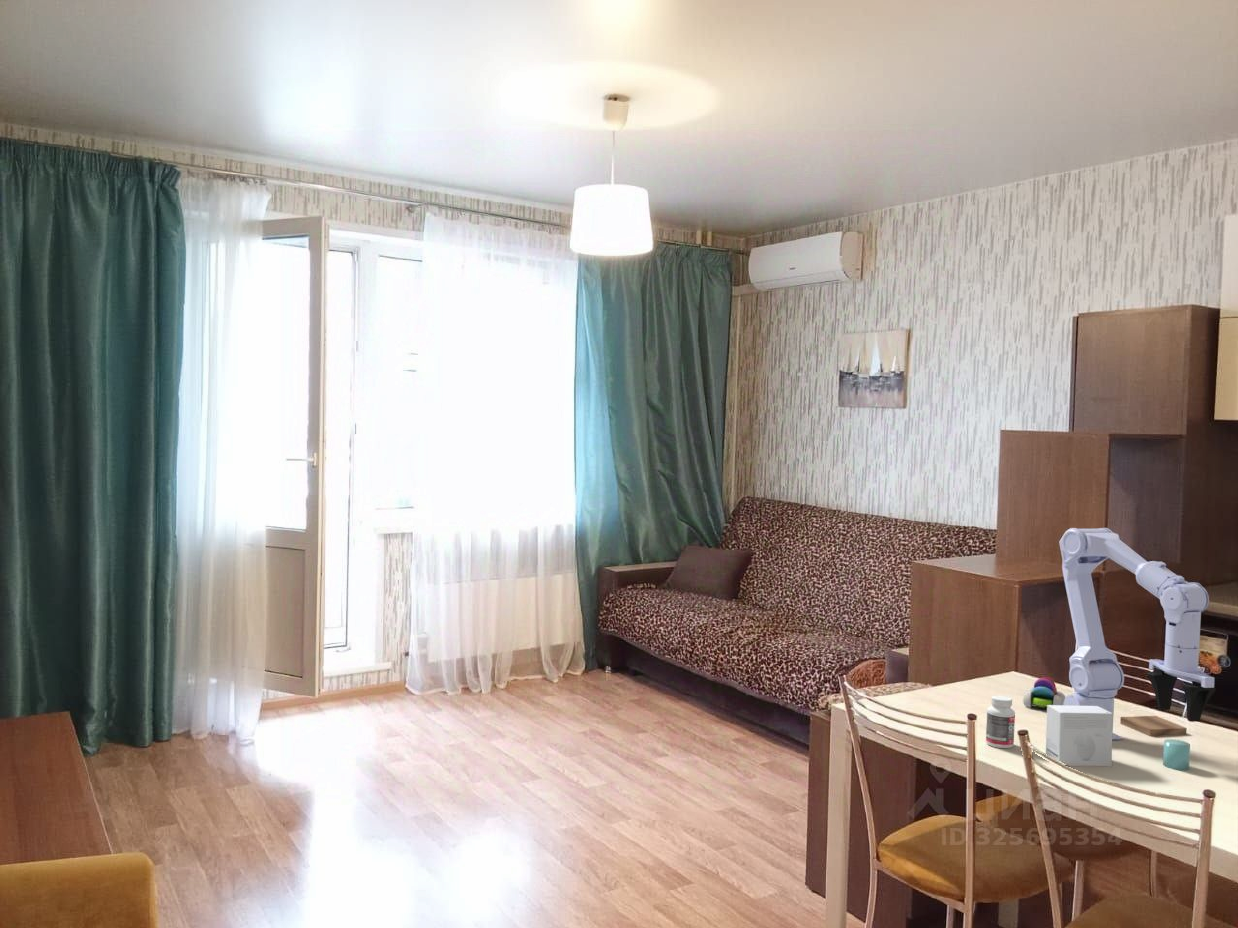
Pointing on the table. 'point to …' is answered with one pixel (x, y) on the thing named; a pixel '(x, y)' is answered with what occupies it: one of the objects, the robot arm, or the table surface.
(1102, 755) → the skincare box
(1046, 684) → the multicolored rounded toy
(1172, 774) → the table surface
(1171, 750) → the teal rounded cylinder
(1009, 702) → the pill bottle
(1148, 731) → the walnut block
